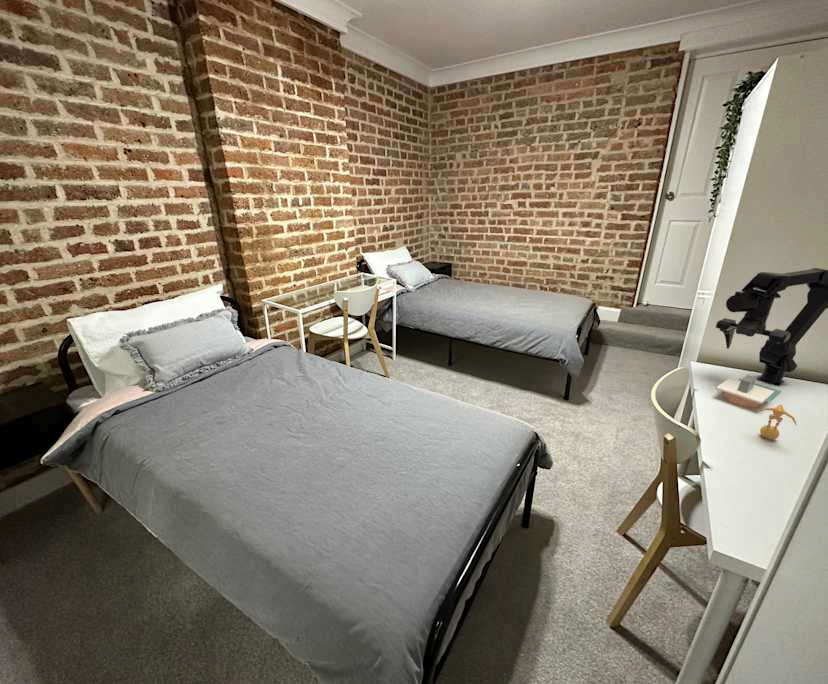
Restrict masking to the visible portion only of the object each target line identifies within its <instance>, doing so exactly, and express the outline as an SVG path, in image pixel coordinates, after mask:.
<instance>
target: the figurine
mask: <svg viewBox="0 0 828 684" xmlns="http://www.w3.org/2000/svg"><path fill="white" fill-rule="evenodd" d="M762 411H772V414H769V417H768V422H767V424H765V425H763V426H762V427H760V430H759V432H760V435H761V436H762V437H763V438H764V439H767V440H775V439H778V438H779V437H780V431H779V429H778V427H779V426H780V423H781V422H782V421H783V420H784V419H783V417H782V416H784V415H785V416H787V417H788V418H791V420H792V422H793V423H794V425H795V426H797V422H796V420H795V417H794V416H793V415H792V414H790V413H788V412H787V411H785V409H784V406H783V404H778V405H777V406H775V407H764V408H761V409H758V410H757V411H756V412H755V414H758V413H759V412H760V413H761V412H762ZM772 420H773V421H774V420H776V423H775V425H771V424H772Z"/></svg>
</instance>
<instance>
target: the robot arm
mask: <svg viewBox="0 0 828 684" xmlns="http://www.w3.org/2000/svg"><path fill="white" fill-rule="evenodd" d="M800 285H806V286H807V288H808V289H809V290H808V291H807V294H806V298H807V299H806V303H805V305H804V306H803V308H802V309H800V311H799V312H798V313H797V315H796V316H795V318H793V320H792V321H791V323H789V325H788V326H787V327H786V328H785V329H779V328H774V329H773V330H769V329H767V324H766V323H767V320H768V317H769V316H770V313H771V309H772V306H773V304H774V300H775V299H780V298H781V297H782V296H781V294H780V293H779V292H782V291H785V290H786V289H787V288H789V287H793V286H794V287H795V286H800ZM725 302H726V303H725V306H726V309H727V310H728V311H729V312H730V313H744V316H743V317H742V318H741V320H740V321H739V322H738V323H737V320H736V319H731V318H726V317H724V318H723V319H722V318H721V319H720V320H718V321H716V324H715V328H716V329H719V331H720V332H721V333H723V334H724V338H725V343H726V349H727V350H729V349H730V347H731V344H732V341H733V337H734V335H735V334H737V335H744V336H746V337H754V336H755V335H756V334H757V335H762V336H766V337H768V338H767V340H765V344H764V345H763V346H762V347H761V348H760V351H759V353H758V354H759V356H758V358H759V363H761V364H763V365H764V368H763V370H762V373H761V375H760V376H758V377H757V378H756V380H757V381H760V382H763V383H766V384H769V385H773V386H777V387H780V386H781V385H783V384H784V383H785V380H783V379H784V377H785V374H786V372H787V373H791V372H794V371H795V370H796V369H797V367H798V365H797V363H796V362H795V360H794V357H796V354H797V353H796V352H797V347H796V346H797V344H798V343H799V342H800V340H801V339H802V338H804V336H805V335H806V333H807V332H808V331H809V330H810V329H811V328H812V326H813V325H814V324H815V323H816V321H817V320H818V319H819V317H821V315H822V314H823V313H824V312H825V311H826V310H827V309H828V269H824V268H816V267H813V268H810V269H804V270H798V271H791V272H784V273H779V272H769V271H768V272H767V271H761V272H759V273H757V274H756V275H755V276H753V277H752V278H751V280H750V281H749V282H748V283H746V285H745V286H744V287H742V289H741V291H735V292H734V294H733V295H731V296H729V297H728V298H727V299H726V301H725Z"/></svg>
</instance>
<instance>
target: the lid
mask: <svg viewBox="0 0 828 684" xmlns="http://www.w3.org/2000/svg"><path fill="white" fill-rule="evenodd" d="M757 378H758V377H757V376H753V375H750V374H746V375H745V376H744V377H743V378H740V379H741V381H740V380H739V379H736V378H733V377H729V378H727V379H726V380H724V381H723V382H722V383H720V384H719V385H718V386H717V387H716V390H718V391H722V392H723V393H724V392H727V393H730V394H733V395H736V396H739V397H742V398H745V399H748V400H751V401H754V402H757V403H760V405H762V404H763V403H765V401H767V400H766V399H768V398H769V397H770V396H771V395H772V394H773V393H774V391H772V390H769V389H766V388H763V387H759V386H756V385H754V384H755V383H756V380H757Z"/></svg>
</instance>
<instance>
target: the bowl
mask: <svg viewBox="0 0 828 684" xmlns="http://www.w3.org/2000/svg"><path fill="white" fill-rule="evenodd" d="M722 396H723V398H724V399H725V400H726V401H728V403H731V404H733V405H734V404H735V405H737V406H741V407H744V408H756V409H757V408H758V407H759V406H760V405H761V404H760V403H757V402H754V401H751V400H748V399H745V398H742V397H739V396H736V395H733V394H730V393H727V392H724V391H723V395H722Z"/></svg>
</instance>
